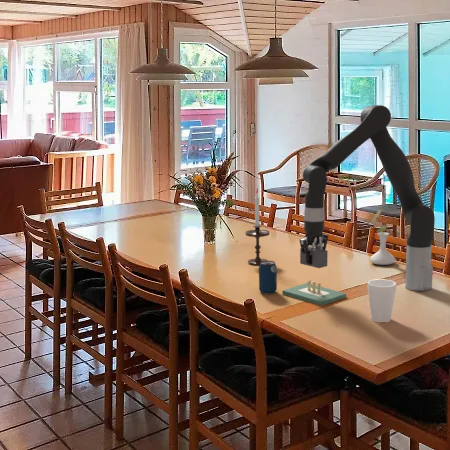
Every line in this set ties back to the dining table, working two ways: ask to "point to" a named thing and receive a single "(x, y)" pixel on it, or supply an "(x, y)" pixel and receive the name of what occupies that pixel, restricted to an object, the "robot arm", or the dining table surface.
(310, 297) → the pin board
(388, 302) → the foam cup
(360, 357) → the dining table surface
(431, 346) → the dining table surface
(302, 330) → the dining table surface
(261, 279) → the soda can
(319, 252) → the block
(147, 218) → the dining table surface
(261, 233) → the candlestick
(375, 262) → the flower in vase
